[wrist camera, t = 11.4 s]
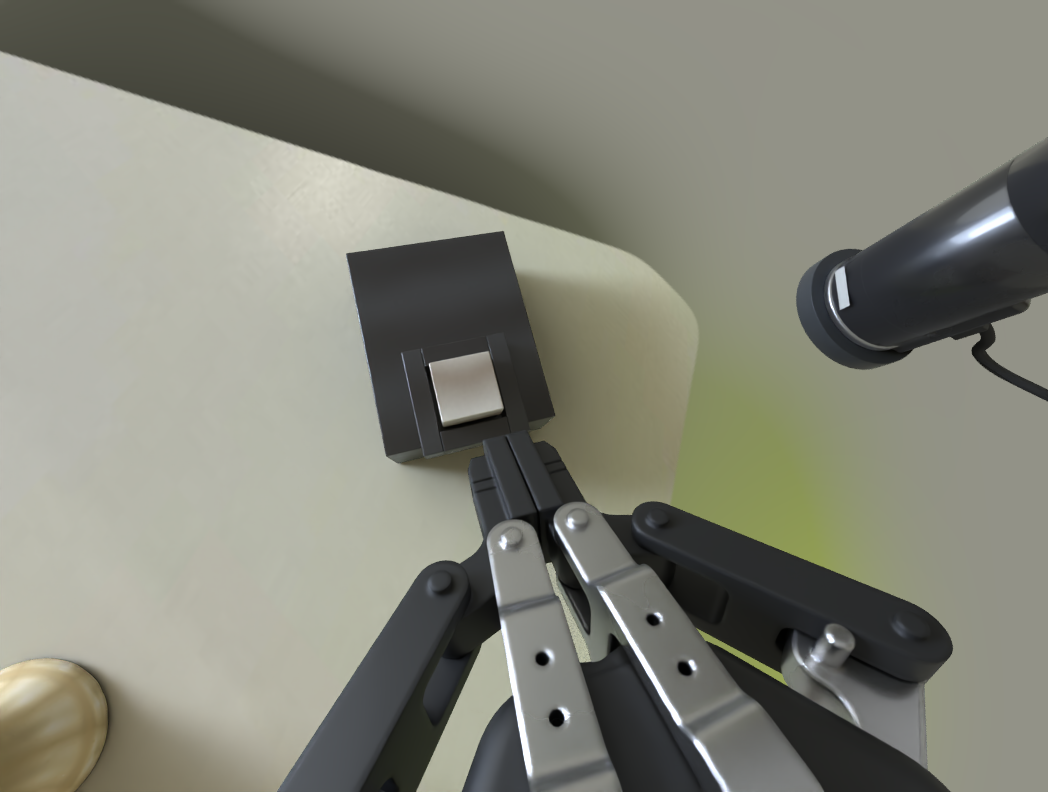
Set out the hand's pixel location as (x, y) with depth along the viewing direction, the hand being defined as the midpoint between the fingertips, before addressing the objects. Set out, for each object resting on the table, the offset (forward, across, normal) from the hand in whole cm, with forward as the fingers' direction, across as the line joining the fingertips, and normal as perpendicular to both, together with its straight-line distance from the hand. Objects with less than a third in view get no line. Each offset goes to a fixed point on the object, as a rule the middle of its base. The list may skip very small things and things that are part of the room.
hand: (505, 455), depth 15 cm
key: (+12, 0, +4) cm, 13 cm away
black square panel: (+20, 0, +6) cm, 20 cm away
